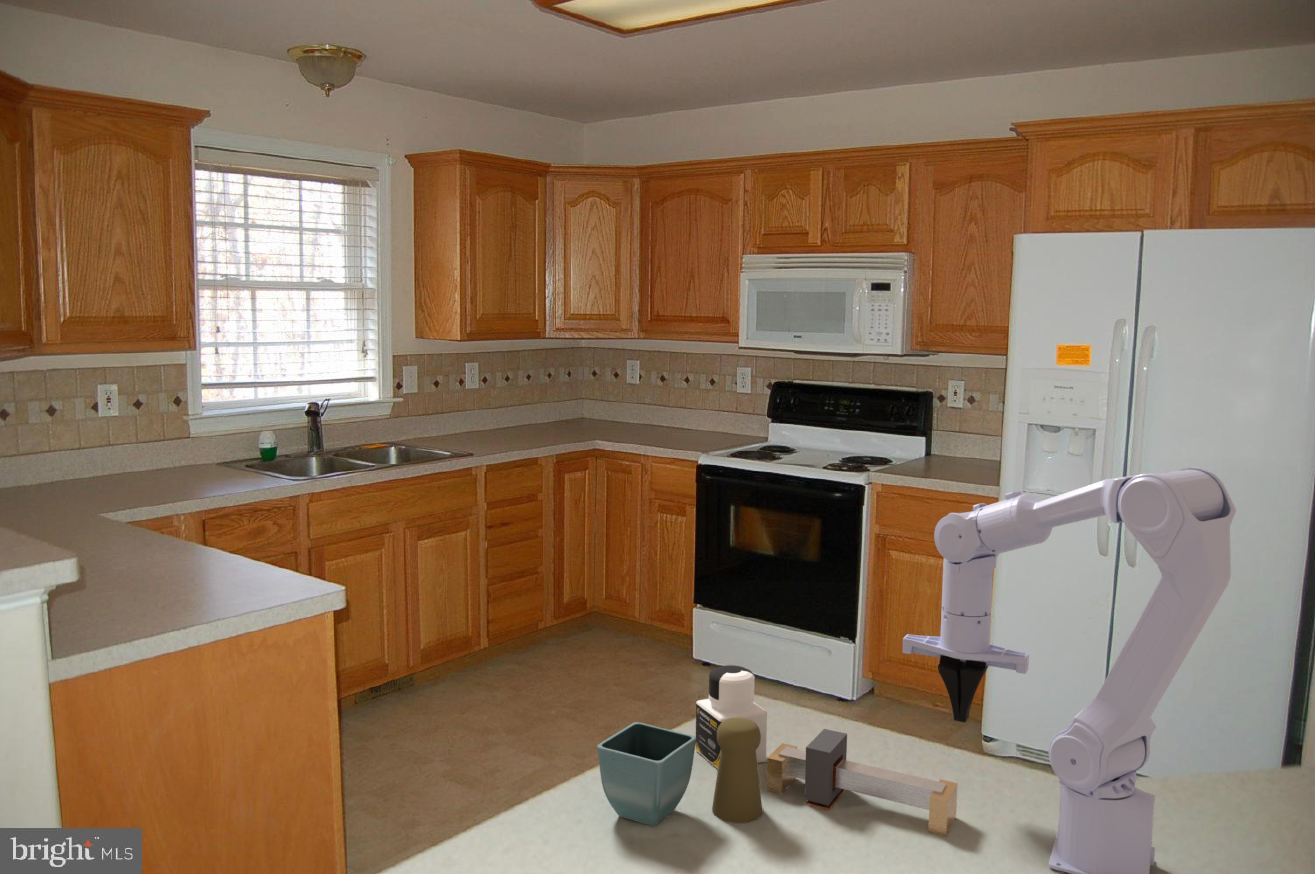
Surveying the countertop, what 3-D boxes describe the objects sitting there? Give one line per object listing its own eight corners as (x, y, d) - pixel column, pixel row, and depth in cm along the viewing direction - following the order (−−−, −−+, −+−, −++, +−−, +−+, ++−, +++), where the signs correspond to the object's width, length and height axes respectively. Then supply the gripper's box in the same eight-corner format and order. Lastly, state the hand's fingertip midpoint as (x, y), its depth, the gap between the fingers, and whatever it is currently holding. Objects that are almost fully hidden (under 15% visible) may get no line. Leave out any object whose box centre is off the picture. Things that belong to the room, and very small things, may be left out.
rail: (958, 813, 116) (959, 776, 115) (944, 840, 110) (945, 801, 109) (784, 771, 127) (785, 737, 126) (763, 793, 121) (764, 757, 120)
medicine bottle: (694, 750, 133) (695, 665, 131) (740, 741, 136) (741, 658, 134) (719, 772, 126) (721, 682, 125) (767, 762, 129) (769, 674, 128)
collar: (845, 784, 122) (847, 733, 122) (828, 805, 117) (829, 752, 116) (822, 778, 124) (824, 728, 123) (804, 799, 118) (806, 747, 118)
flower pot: (634, 789, 121) (635, 719, 120) (697, 807, 117) (698, 735, 116) (594, 819, 114) (594, 745, 113) (659, 839, 109) (660, 763, 108)
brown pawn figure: (760, 825, 113) (762, 734, 112) (708, 819, 114) (709, 729, 113) (765, 801, 119) (766, 713, 117) (715, 795, 120) (717, 709, 119)
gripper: (1035, 610, 118) (1029, 719, 119) (914, 594, 125) (910, 696, 126) (1025, 626, 112) (1019, 740, 113) (899, 607, 119) (895, 715, 120)
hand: (961, 718), depth 119 cm, fingers closed
